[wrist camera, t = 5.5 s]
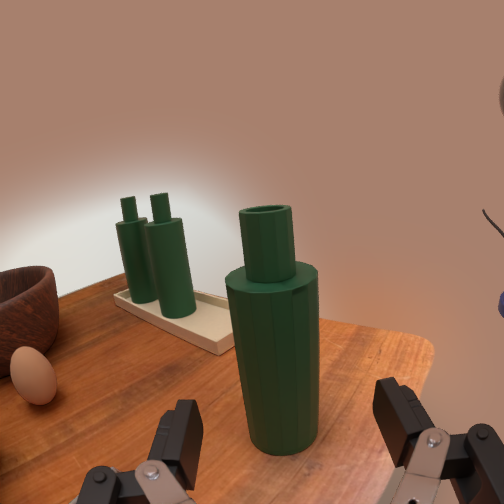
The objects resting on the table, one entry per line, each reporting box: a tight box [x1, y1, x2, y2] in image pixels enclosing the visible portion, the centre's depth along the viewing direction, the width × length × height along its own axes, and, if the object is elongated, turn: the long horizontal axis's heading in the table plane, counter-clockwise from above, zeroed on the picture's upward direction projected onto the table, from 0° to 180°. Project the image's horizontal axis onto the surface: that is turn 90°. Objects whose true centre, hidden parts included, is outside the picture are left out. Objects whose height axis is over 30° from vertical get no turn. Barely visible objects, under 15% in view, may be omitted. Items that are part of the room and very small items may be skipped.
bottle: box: [225, 205, 319, 456], centre depth 20 cm, size 6×6×18 cm
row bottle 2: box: [144, 193, 197, 319], centre depth 45 cm, size 6×6×18 cm
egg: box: [10, 347, 57, 405], centre depth 25 cm, size 5×5×7 cm
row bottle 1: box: [116, 196, 158, 304], centre depth 52 cm, size 6×6×18 cm
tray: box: [113, 289, 235, 356], centre depth 47 cm, size 28×10×2 cm, turn 50°
